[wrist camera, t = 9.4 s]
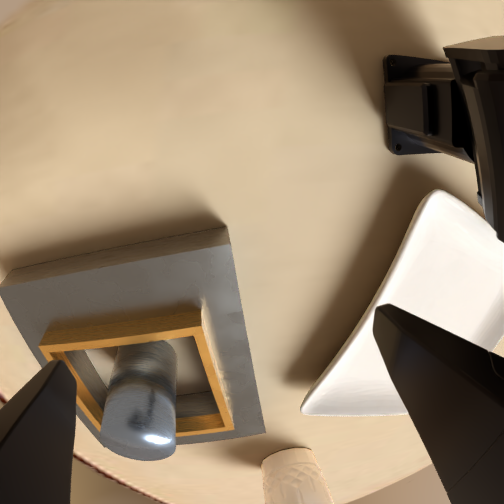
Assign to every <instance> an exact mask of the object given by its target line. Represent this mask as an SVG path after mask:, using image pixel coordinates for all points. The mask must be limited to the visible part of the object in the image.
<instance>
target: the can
mask: <svg viewBox="0 0 504 504" xmlns="http://www.w3.org/2000/svg"><path fill="white" fill-rule="evenodd" d="M176 383H177V355H176V352H175V351H174V349H173V348H172V347H171V346H170V345H169V344H168V343H167V342H165V341H164V340H160V341H152V342H145V343H137V344H129V345H121V346H119V347H118V350H117V354H116V358H115V362H114V367H113V371H112V375H111V380H110V384H109V389H108V393H107V398H106V403H105V408H104V413H103V418H102V424H101V429H100V435H99V436H100V440H101V442H102V443H103V444H104V445H105V446H106V447H107V448H108V449H109V450H111V451H112V452H114V453H116V454H118V455H121V456H123V457H127V458H130V459H135V460H142V461H155V460H161V459H165V458H167V457H169V456H171V455H172V454H173V453H174V452H175V449H176Z"/></svg>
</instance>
